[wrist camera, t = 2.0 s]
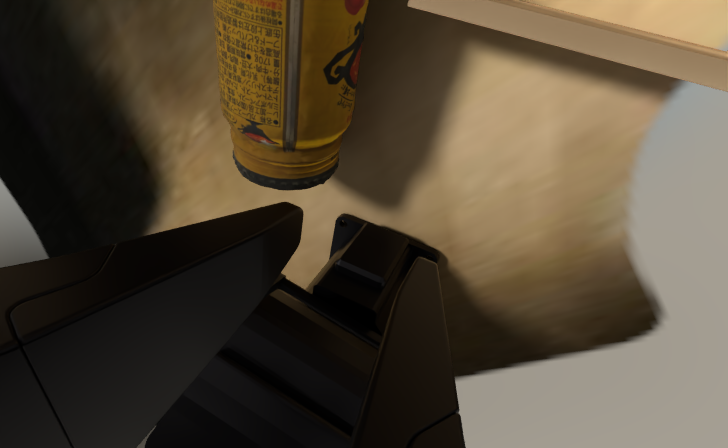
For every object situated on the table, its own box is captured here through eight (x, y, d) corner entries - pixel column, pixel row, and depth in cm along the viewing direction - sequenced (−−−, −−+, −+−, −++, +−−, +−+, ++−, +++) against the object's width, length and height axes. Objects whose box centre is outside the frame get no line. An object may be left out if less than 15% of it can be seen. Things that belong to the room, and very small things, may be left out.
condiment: (422, -116, 16) (371, 158, 23) (235, -151, 17) (245, 113, 25) (335, -142, 10) (306, 228, 18) (78, -188, 12) (150, 163, 19)
